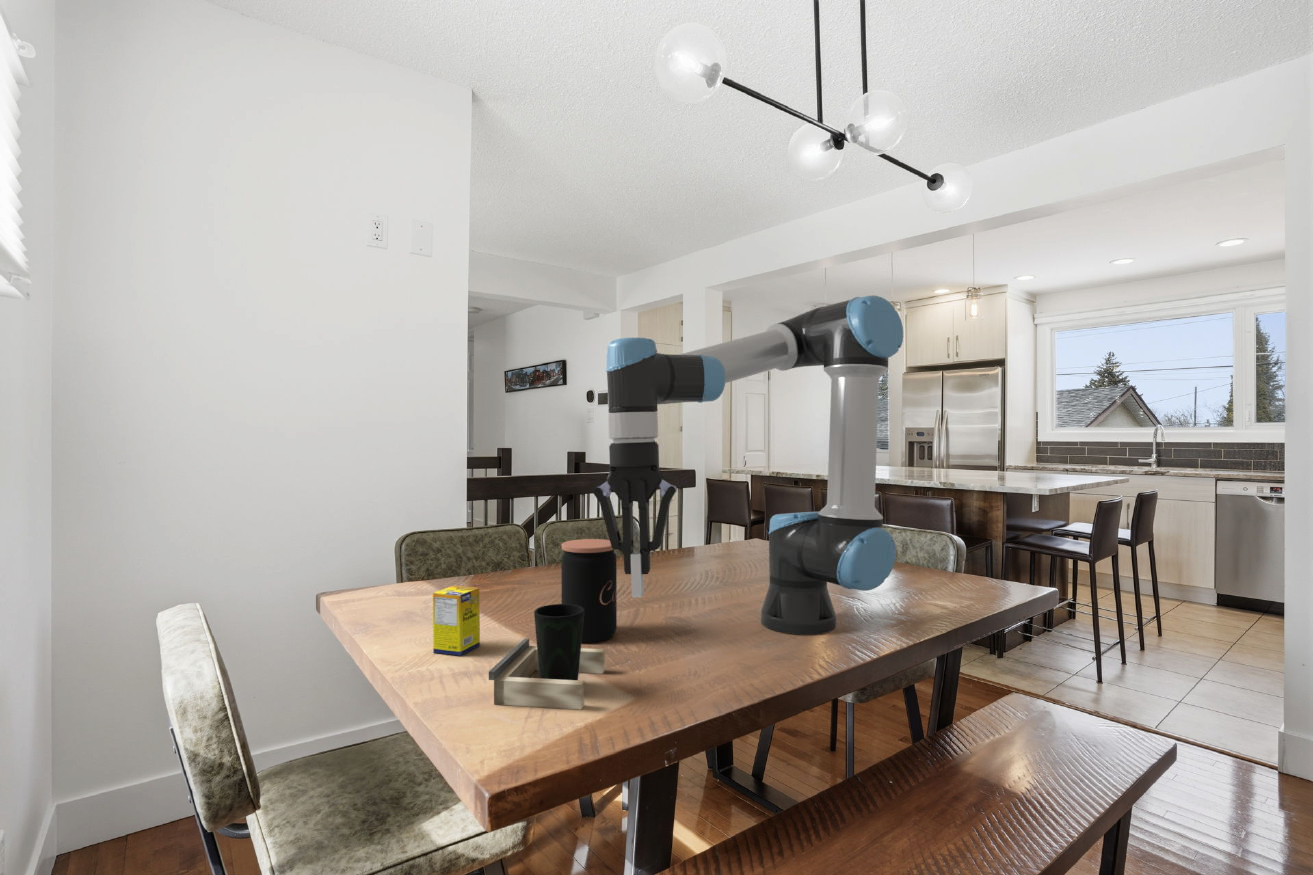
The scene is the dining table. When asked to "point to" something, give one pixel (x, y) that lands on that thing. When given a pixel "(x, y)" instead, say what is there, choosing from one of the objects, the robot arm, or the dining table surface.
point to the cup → (559, 640)
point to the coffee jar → (591, 585)
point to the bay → (535, 691)
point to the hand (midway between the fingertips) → (638, 594)
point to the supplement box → (456, 620)
